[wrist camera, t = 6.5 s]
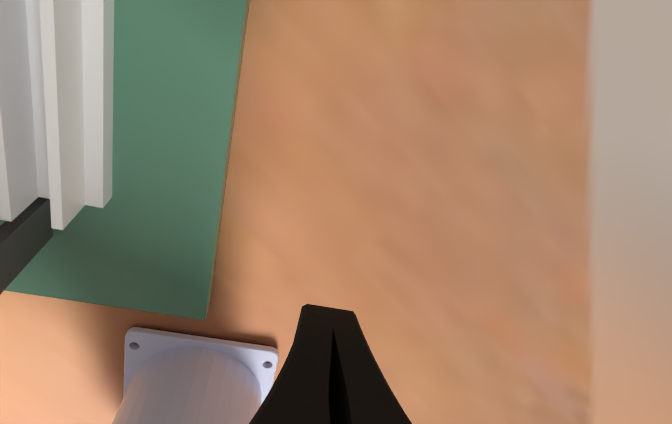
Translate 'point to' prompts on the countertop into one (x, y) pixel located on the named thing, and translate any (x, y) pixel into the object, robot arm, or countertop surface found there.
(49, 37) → the heatsink board
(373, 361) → the robot arm
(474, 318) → the countertop surface
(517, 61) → the countertop surface
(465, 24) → the countertop surface
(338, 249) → the countertop surface
